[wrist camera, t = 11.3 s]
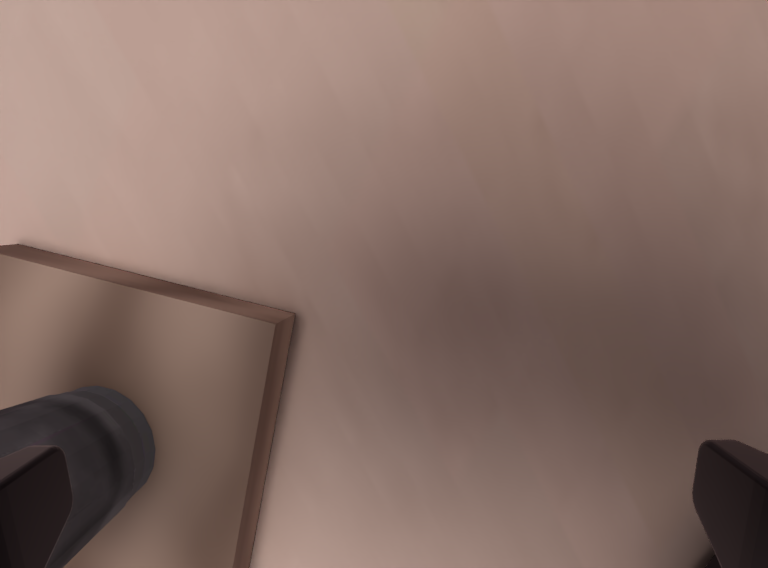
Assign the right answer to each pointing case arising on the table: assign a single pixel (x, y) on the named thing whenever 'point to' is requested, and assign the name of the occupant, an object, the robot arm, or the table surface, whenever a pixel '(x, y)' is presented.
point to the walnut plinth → (155, 396)
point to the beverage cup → (86, 454)
